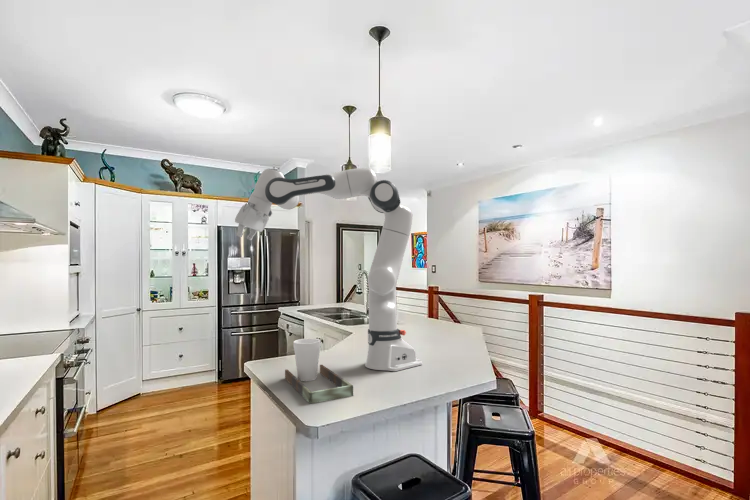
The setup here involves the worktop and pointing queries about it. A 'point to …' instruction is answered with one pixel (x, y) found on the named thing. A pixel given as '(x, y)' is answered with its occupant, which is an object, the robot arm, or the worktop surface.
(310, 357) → the foam cup
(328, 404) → the worktop surface
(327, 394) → the channel
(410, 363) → the robot arm
